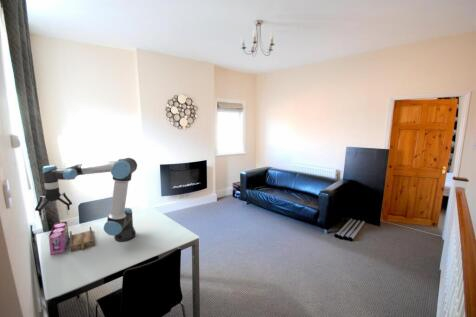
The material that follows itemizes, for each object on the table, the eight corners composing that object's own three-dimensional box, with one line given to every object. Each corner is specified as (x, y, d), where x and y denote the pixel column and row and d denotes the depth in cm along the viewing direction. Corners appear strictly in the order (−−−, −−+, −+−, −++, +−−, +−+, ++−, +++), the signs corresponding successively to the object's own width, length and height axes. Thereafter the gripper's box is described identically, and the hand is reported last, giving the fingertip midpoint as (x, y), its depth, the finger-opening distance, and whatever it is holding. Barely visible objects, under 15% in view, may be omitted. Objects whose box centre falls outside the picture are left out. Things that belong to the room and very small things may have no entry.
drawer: (91, 231, 189) (90, 222, 187) (94, 246, 166) (93, 236, 165) (70, 236, 180) (69, 226, 179) (70, 253, 158) (69, 242, 156)
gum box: (64, 253, 158) (62, 234, 155) (49, 256, 154) (47, 237, 152) (69, 237, 178) (67, 221, 176) (56, 240, 174) (54, 223, 172)
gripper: (73, 183, 168) (76, 211, 172) (28, 189, 153) (32, 219, 156) (74, 186, 163) (77, 214, 166) (27, 192, 147) (31, 223, 151)
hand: (55, 216), depth 161 cm, fingers open, 13 cm apart
